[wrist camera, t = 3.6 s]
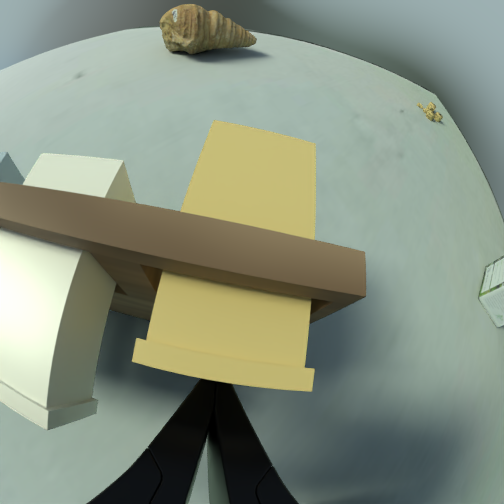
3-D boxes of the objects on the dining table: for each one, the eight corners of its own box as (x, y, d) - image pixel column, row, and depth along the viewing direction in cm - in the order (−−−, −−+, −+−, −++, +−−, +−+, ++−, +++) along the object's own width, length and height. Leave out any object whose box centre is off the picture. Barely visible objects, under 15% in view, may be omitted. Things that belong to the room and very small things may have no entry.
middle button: (96, 413, 8) (47, 430, 4) (15, 373, 7) (-43, 366, 4) (144, 217, 11) (127, 156, 8) (67, 202, 11) (37, 149, 7)
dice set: (428, 109, 38) (433, 103, 37) (442, 127, 36) (447, 121, 35) (412, 103, 37) (417, 96, 36) (426, 121, 35) (431, 114, 34)
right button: (273, 384, 10) (312, 391, 6) (157, 363, 9) (131, 361, 6) (293, 197, 13) (322, 141, 10) (204, 178, 13) (209, 115, 9)
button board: (264, 343, 16) (366, 296, 6) (17, 277, 15) (-79, 194, 4) (272, 284, 18) (357, 171, 8) (35, 230, 16) (-40, 131, 6)
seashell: (246, 42, 34) (255, 1, 27) (258, 62, 31) (270, 14, 24) (159, 44, 30) (160, 1, 23) (157, 65, 27) (157, 13, 20)
